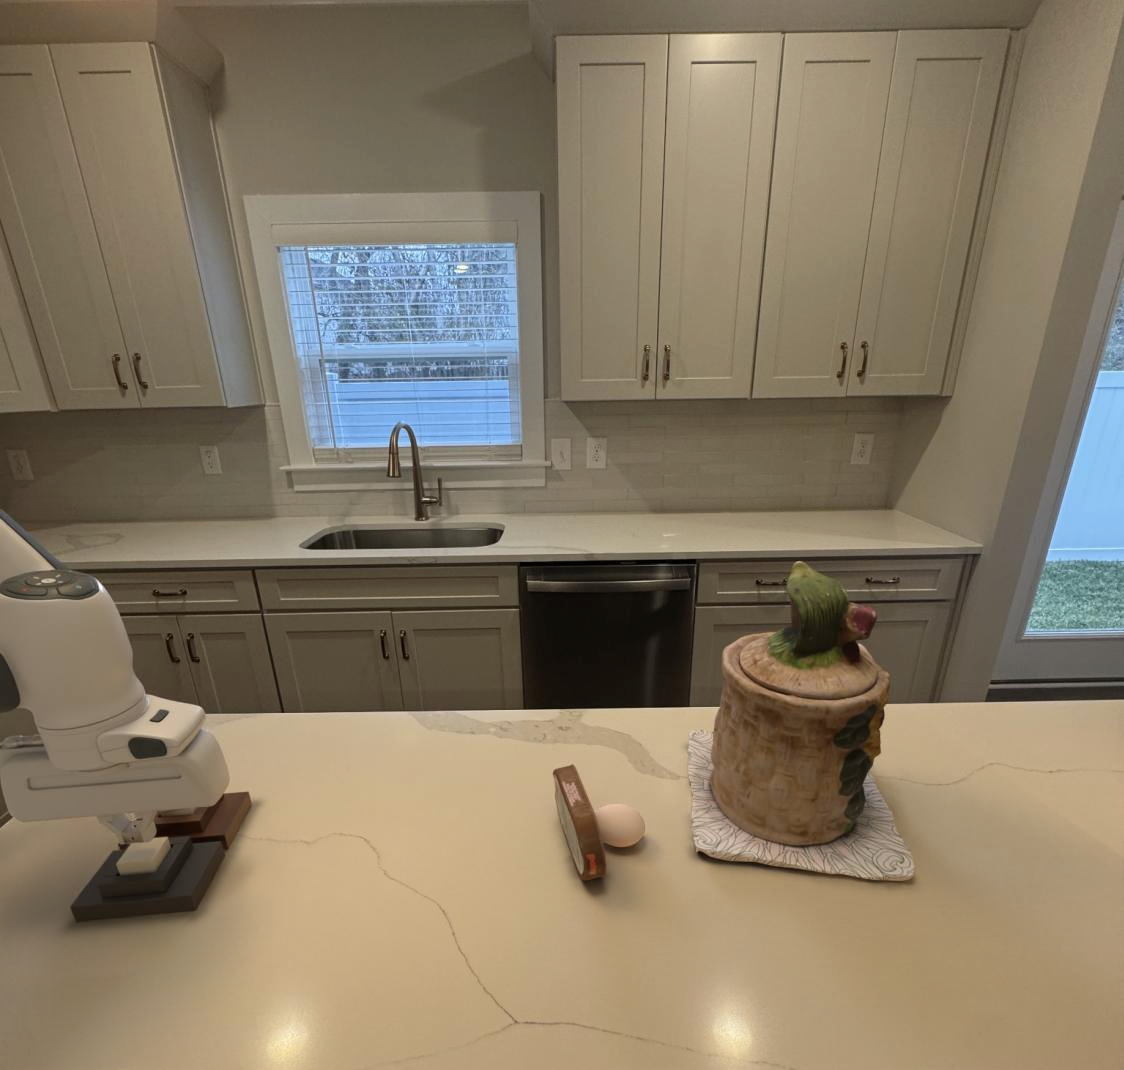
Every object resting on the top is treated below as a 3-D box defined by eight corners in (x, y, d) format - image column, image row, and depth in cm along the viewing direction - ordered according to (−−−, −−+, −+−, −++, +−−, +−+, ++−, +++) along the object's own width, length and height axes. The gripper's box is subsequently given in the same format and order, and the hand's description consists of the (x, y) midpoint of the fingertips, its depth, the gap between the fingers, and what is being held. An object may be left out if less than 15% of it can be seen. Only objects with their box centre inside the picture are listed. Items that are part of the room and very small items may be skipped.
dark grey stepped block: (75, 922, 65) (63, 894, 63) (118, 865, 72) (108, 838, 70) (195, 910, 66) (186, 882, 64) (225, 855, 73) (217, 828, 72)
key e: (161, 818, 74) (157, 806, 73) (175, 798, 77) (172, 787, 77) (193, 816, 74) (189, 804, 74) (205, 796, 78) (202, 785, 77)
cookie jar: (690, 862, 71) (711, 606, 59) (685, 740, 93) (700, 537, 81) (920, 888, 67) (993, 619, 55) (858, 755, 90) (900, 543, 78)
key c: (120, 876, 66) (115, 864, 65) (137, 851, 69) (133, 839, 68) (155, 873, 66) (151, 860, 65) (171, 848, 69) (167, 836, 69)
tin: (608, 893, 67) (609, 832, 64) (580, 899, 66) (580, 838, 63) (574, 803, 81) (573, 750, 78) (550, 807, 80) (549, 753, 77)
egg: (642, 859, 71) (585, 851, 73) (645, 833, 76) (592, 825, 77) (644, 823, 70) (586, 816, 71) (647, 799, 74) (593, 792, 76)
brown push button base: (122, 858, 73) (113, 832, 71) (156, 812, 80) (148, 787, 79) (228, 849, 74) (221, 822, 73) (252, 804, 81) (245, 780, 80)
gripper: (-38, 757, 57) (14, 871, 62) (193, 740, 59) (225, 851, 64) (10, 721, 63) (55, 827, 68) (219, 706, 65) (247, 810, 70)
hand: (139, 839), depth 66 cm, fingers closed
